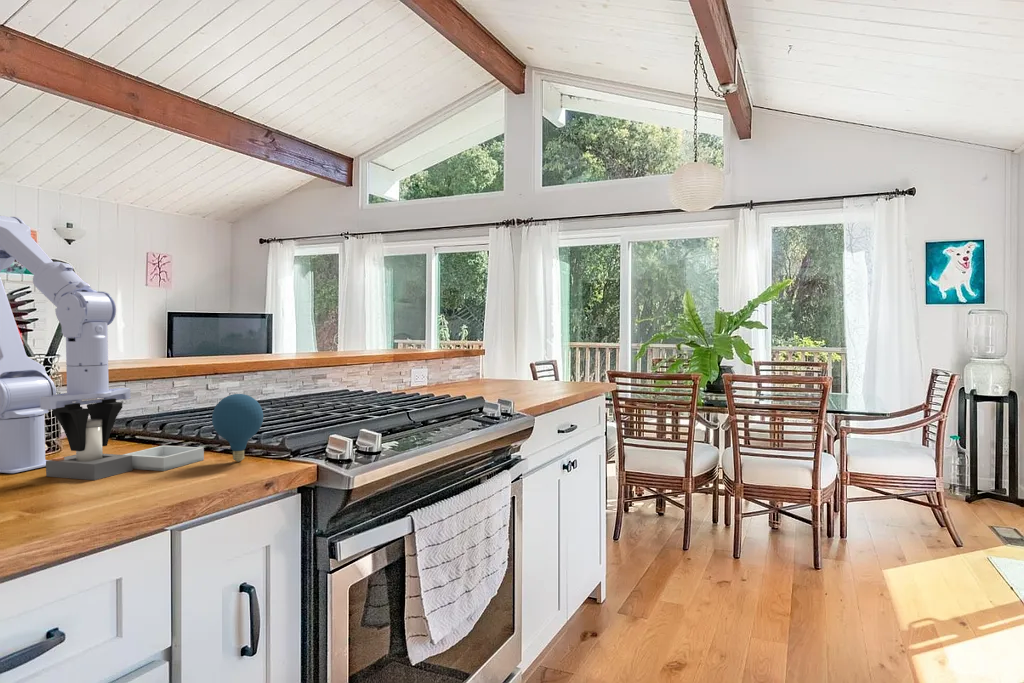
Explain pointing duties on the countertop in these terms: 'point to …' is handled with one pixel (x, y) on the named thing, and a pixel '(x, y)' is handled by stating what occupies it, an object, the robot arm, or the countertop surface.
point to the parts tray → (165, 457)
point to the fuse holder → (88, 467)
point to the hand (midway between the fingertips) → (89, 448)
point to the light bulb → (237, 421)
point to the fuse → (92, 442)
